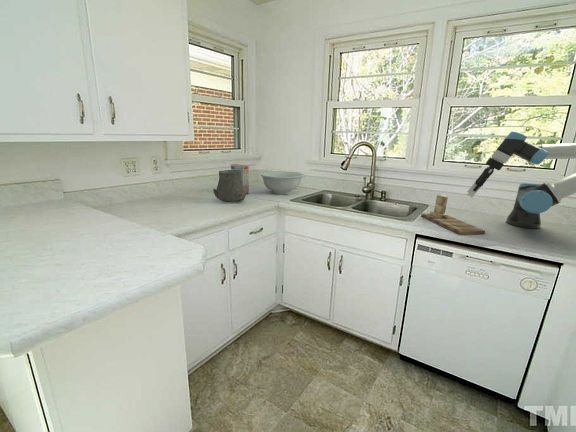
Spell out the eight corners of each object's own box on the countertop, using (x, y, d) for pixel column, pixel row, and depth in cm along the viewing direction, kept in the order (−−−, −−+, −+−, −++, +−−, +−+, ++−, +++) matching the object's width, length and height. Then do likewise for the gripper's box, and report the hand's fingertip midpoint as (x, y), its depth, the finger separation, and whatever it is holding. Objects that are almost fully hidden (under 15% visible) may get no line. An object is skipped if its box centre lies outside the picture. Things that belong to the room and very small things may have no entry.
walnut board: (420, 215, 173) (421, 213, 172) (442, 215, 175) (442, 212, 174) (459, 234, 142) (460, 231, 142) (484, 233, 145) (485, 230, 144)
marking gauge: (437, 213, 172) (441, 194, 169) (450, 219, 162) (454, 198, 158) (429, 213, 171) (433, 194, 168) (442, 219, 161) (446, 198, 158)
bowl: (260, 188, 238) (260, 170, 234) (299, 188, 242) (300, 171, 237) (261, 197, 207) (261, 176, 203) (305, 197, 211) (306, 177, 207)
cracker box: (249, 193, 216) (249, 165, 210) (242, 194, 212) (242, 166, 206) (237, 190, 225) (236, 163, 219) (230, 191, 221) (230, 164, 215)
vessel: (225, 207, 178) (224, 174, 172) (209, 200, 193) (207, 170, 188) (254, 202, 191) (254, 172, 186) (237, 196, 207) (236, 168, 202)
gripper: (488, 156, 163) (463, 188, 172) (492, 157, 142) (462, 193, 151) (502, 163, 160) (475, 195, 169) (507, 165, 139) (476, 201, 148)
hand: (469, 194), depth 160 cm, fingers open, 13 cm apart
